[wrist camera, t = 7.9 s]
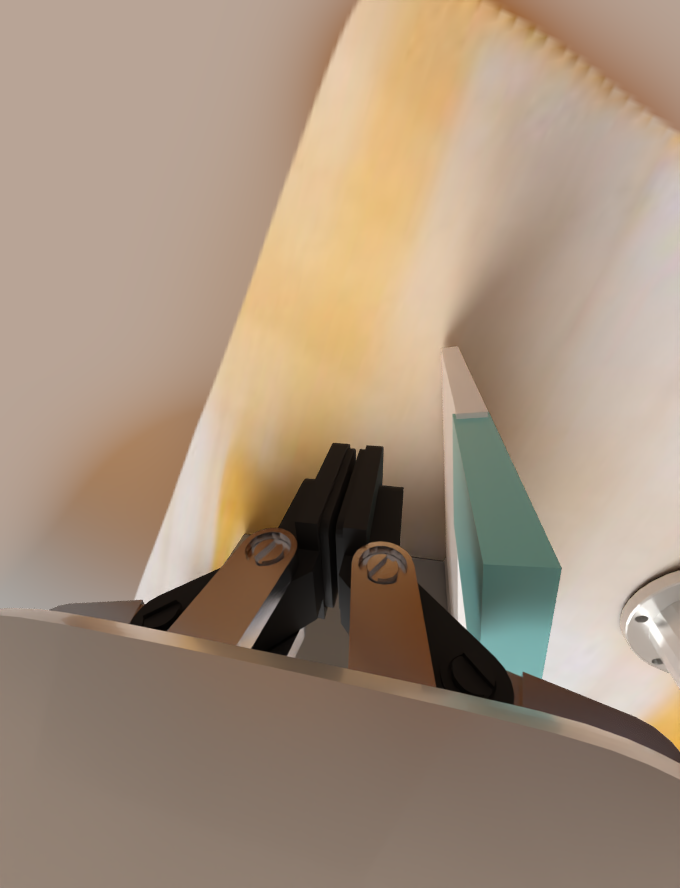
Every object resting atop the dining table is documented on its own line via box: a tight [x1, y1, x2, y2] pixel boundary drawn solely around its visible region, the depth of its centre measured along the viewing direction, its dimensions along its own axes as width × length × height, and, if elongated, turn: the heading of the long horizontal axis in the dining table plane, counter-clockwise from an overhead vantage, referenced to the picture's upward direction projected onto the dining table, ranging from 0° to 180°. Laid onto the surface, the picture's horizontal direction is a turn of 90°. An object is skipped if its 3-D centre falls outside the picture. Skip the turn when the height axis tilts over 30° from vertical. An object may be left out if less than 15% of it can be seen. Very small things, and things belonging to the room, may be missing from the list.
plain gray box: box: [227, 534, 448, 669], centre depth 28 cm, size 20×12×13 cm, turn 92°
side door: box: [441, 346, 562, 679], centre depth 17 cm, size 19×1×18 cm, turn 9°
